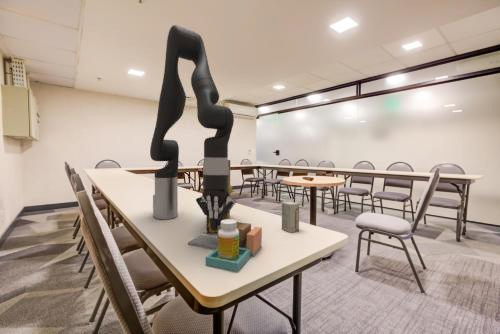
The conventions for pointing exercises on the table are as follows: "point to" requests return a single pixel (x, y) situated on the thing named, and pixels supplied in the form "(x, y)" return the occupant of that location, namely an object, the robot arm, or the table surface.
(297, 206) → the skincare box
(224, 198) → the robot arm
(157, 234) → the table surface
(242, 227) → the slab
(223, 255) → the supplement bottle
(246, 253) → the cradle
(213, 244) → the rail
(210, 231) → the book
